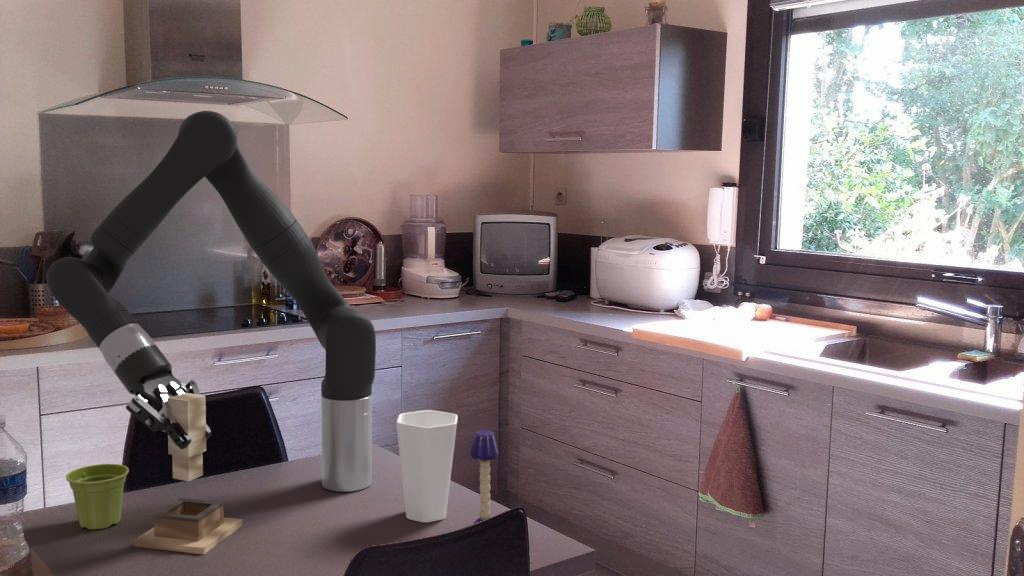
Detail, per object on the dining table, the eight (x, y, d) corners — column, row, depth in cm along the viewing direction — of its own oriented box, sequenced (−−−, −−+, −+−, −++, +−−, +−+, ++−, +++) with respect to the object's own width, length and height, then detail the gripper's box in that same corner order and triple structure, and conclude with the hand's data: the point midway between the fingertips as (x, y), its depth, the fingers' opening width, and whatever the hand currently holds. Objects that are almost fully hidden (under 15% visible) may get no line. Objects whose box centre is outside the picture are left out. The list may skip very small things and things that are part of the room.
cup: (469, 511, 157) (471, 416, 155) (437, 531, 148) (439, 430, 146) (416, 499, 162) (417, 407, 160) (382, 518, 153) (382, 420, 151)
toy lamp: (493, 536, 146) (495, 437, 144) (466, 534, 147) (467, 434, 145) (500, 525, 151) (502, 429, 149) (473, 523, 152) (474, 426, 150)
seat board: (177, 518, 151) (176, 492, 151) (242, 525, 149) (242, 498, 148) (133, 546, 140) (132, 518, 139) (204, 554, 137) (203, 526, 137)
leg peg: (186, 471, 146) (185, 392, 144) (206, 474, 144) (205, 395, 143) (168, 478, 142) (167, 398, 140) (189, 482, 140) (187, 401, 139)
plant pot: (65, 537, 143) (63, 484, 141) (70, 516, 151) (68, 466, 150) (129, 530, 146) (128, 478, 145) (131, 510, 155) (129, 461, 154)
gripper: (113, 351, 137) (178, 439, 134) (179, 336, 150) (240, 416, 147) (87, 381, 139) (151, 469, 136) (155, 365, 152) (214, 444, 149)
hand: (197, 441), depth 142 cm, fingers closed on leg peg, 4 cm apart
